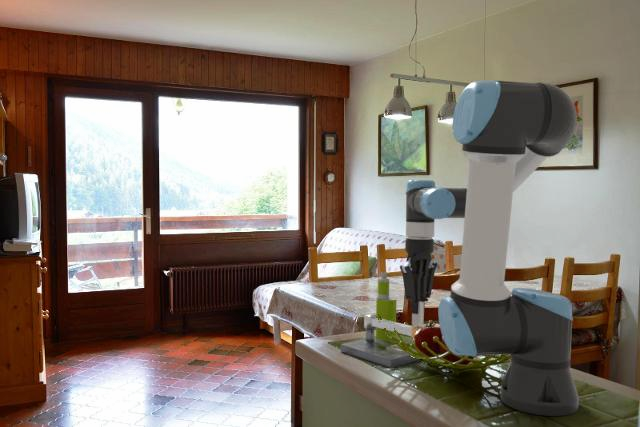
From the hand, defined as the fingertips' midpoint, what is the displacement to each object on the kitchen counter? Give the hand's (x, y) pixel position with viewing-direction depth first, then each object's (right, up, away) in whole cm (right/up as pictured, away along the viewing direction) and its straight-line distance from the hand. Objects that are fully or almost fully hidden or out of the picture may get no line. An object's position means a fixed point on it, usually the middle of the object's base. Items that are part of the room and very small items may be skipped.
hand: (417, 325), depth 158 cm
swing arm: (-7, -2, -2) cm, 8 cm away
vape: (-8, -7, +10) cm, 14 cm away
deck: (-10, -7, -3) cm, 13 cm away
